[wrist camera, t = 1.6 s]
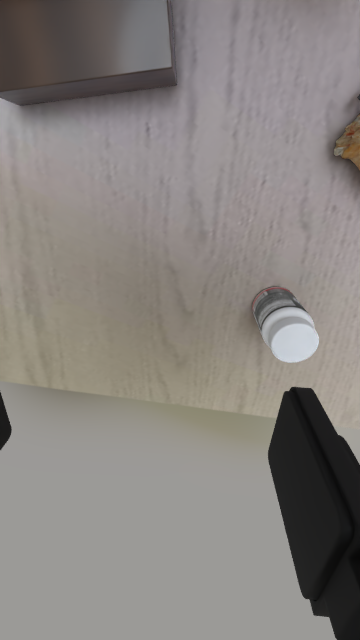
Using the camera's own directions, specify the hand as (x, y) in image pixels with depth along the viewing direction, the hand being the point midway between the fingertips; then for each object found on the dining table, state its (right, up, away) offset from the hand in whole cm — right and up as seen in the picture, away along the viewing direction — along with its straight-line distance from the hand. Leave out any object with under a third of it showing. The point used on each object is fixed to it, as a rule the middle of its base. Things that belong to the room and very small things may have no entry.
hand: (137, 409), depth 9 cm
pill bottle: (+12, +5, +22) cm, 26 cm away
